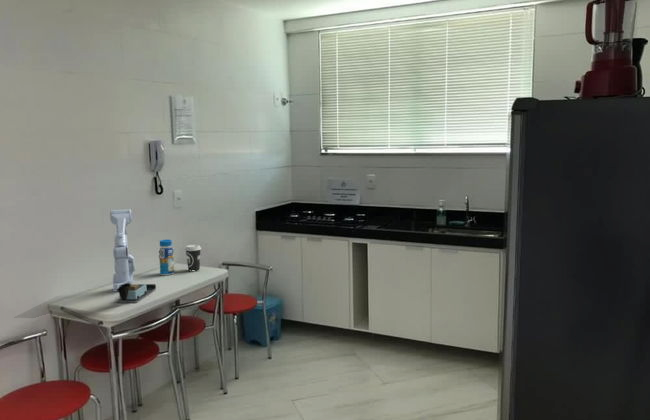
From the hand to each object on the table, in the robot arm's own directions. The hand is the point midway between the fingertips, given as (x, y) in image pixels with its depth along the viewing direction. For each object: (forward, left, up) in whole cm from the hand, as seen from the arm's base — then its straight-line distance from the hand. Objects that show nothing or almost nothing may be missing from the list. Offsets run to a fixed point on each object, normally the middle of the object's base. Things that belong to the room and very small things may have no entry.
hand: (124, 299), depth 246 cm
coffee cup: (+11, +67, -3) cm, 68 cm away
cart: (0, +10, -1) cm, 10 cm away
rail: (0, +13, -2) cm, 14 cm away
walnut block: (0, +10, 0) cm, 10 cm away
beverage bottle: (-2, +58, -3) cm, 58 cm away
